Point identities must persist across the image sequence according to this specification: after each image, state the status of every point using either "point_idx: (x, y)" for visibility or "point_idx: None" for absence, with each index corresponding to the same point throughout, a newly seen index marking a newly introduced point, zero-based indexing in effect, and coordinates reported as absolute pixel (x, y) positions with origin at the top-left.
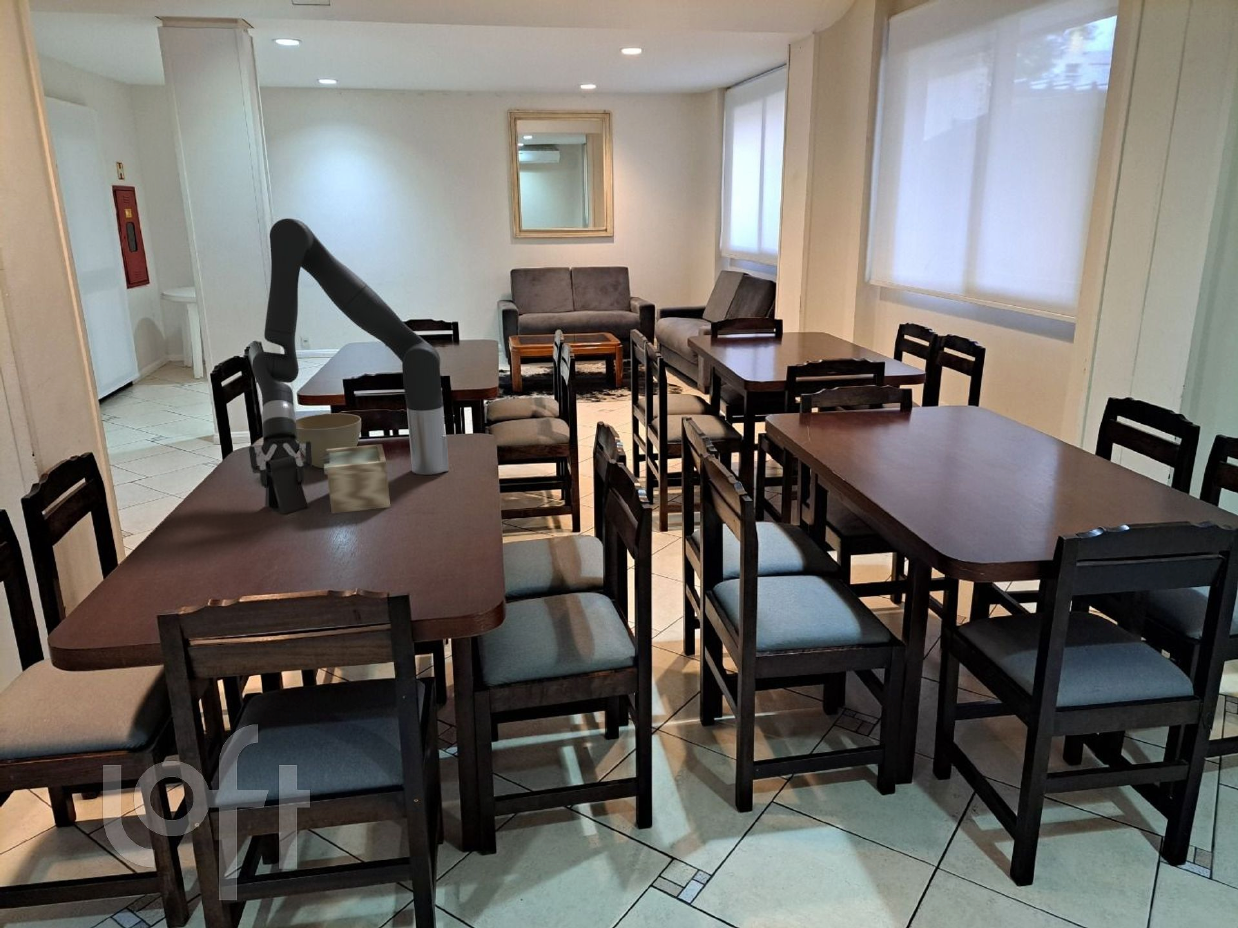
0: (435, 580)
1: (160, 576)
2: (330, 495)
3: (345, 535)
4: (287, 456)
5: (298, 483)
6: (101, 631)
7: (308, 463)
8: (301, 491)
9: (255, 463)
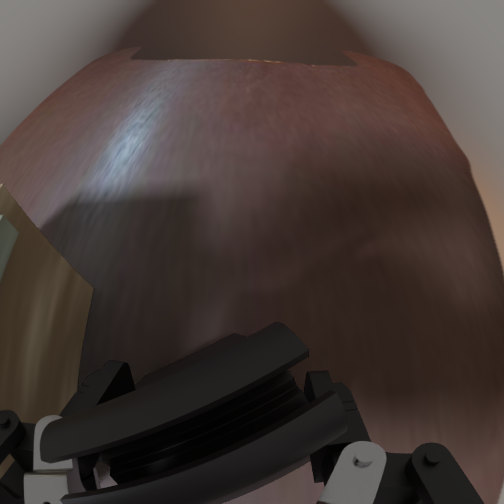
0: (103, 71)
1: (402, 114)
2: (62, 257)
3: (118, 153)
4: (94, 492)
5: (131, 377)
6: (384, 66)
7: (13, 411)
8: (140, 385)
9: (429, 481)
